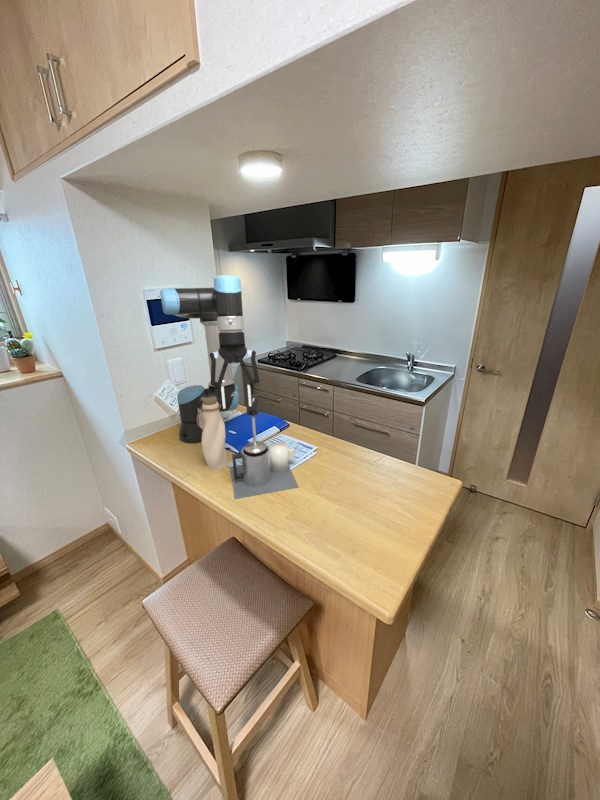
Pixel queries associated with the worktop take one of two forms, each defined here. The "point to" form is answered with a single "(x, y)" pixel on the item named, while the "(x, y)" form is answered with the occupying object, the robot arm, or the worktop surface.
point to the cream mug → (280, 457)
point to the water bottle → (212, 433)
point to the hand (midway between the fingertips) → (237, 406)
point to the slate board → (276, 484)
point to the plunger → (254, 410)
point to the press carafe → (254, 467)
